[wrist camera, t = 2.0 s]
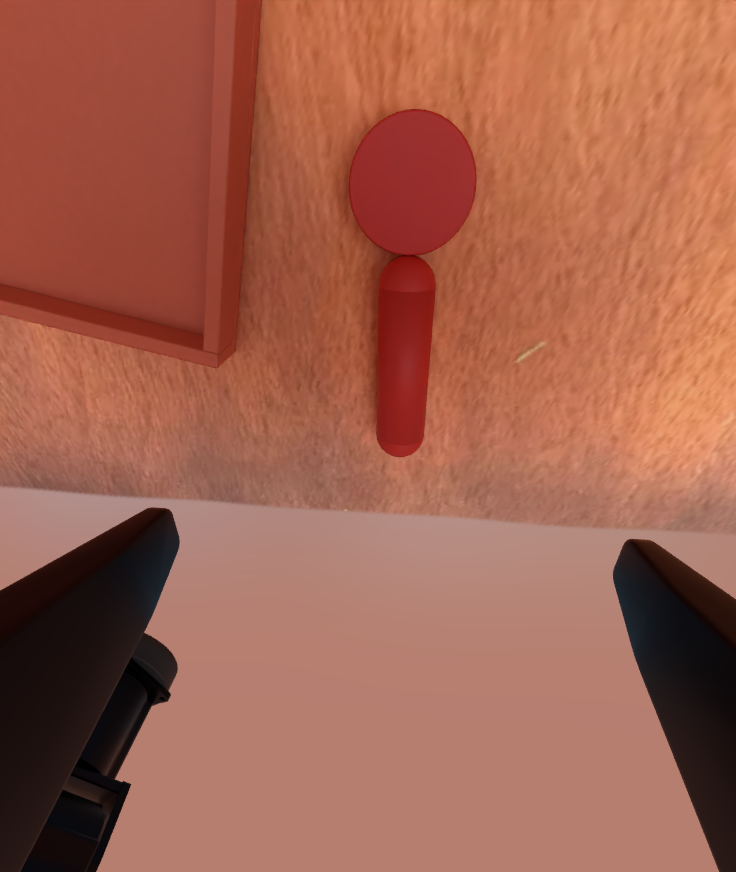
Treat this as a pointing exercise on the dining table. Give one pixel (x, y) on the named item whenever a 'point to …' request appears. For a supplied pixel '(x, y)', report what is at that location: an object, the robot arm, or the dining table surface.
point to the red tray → (127, 168)
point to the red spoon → (409, 251)
